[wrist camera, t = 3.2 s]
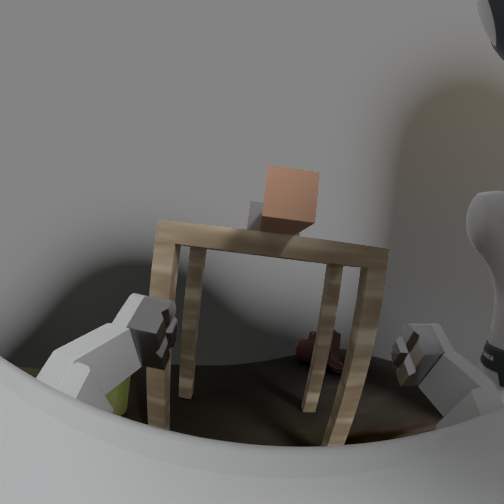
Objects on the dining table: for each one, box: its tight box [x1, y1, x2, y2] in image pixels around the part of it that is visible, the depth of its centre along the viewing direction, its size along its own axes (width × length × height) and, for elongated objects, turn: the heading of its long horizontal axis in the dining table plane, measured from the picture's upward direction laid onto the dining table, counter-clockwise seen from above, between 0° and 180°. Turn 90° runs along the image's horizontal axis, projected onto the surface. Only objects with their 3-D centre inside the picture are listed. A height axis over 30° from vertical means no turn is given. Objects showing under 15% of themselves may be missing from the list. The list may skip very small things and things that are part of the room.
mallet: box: [247, 165, 319, 236], centre depth 26 cm, size 22×6×4 cm, turn 179°
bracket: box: [296, 329, 344, 373], centre depth 58 cm, size 6×17×10 cm, turn 54°
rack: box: [147, 220, 389, 446], centre depth 32 cm, size 16×22×26 cm
